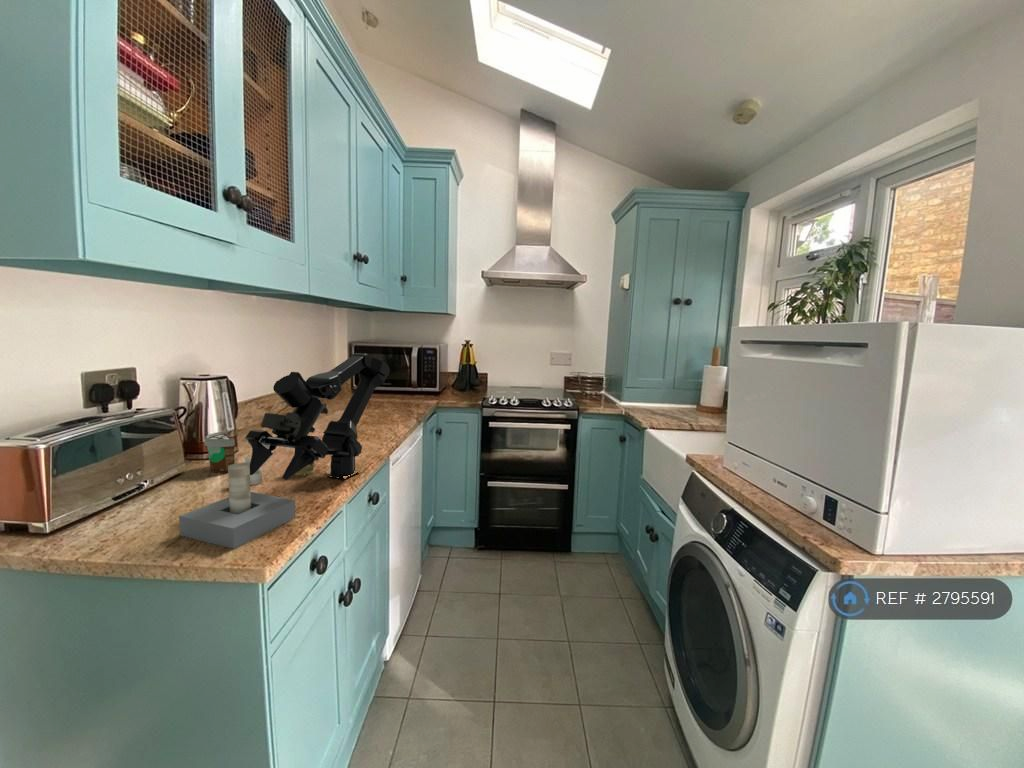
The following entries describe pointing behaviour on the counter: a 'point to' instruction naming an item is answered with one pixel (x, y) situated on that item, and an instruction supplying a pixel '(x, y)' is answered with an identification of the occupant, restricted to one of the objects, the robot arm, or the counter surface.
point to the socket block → (236, 520)
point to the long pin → (239, 487)
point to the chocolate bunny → (306, 469)
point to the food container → (220, 451)
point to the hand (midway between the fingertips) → (266, 476)
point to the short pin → (255, 474)
